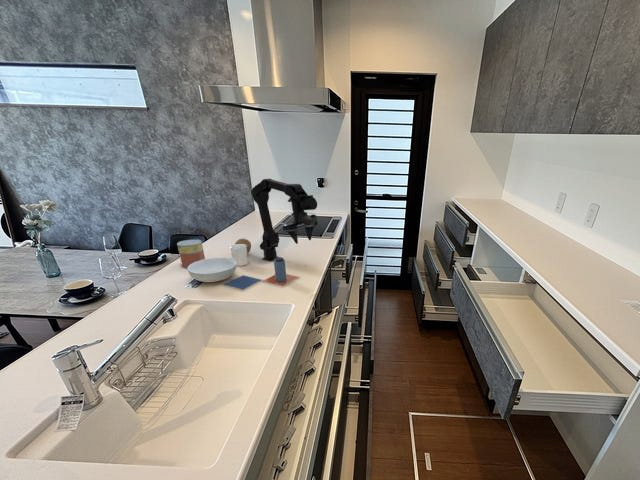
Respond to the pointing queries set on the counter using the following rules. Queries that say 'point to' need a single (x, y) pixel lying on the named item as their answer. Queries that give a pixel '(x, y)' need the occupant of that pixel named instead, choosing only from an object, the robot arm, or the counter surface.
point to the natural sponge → (246, 242)
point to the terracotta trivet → (273, 280)
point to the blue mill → (280, 269)
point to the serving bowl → (212, 269)
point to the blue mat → (242, 282)
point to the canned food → (190, 251)
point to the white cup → (239, 254)
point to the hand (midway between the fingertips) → (303, 241)
